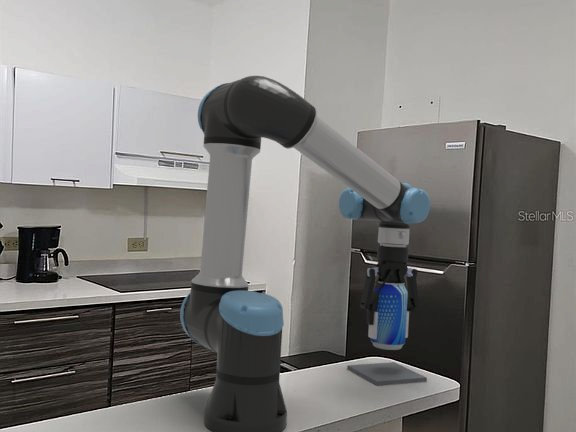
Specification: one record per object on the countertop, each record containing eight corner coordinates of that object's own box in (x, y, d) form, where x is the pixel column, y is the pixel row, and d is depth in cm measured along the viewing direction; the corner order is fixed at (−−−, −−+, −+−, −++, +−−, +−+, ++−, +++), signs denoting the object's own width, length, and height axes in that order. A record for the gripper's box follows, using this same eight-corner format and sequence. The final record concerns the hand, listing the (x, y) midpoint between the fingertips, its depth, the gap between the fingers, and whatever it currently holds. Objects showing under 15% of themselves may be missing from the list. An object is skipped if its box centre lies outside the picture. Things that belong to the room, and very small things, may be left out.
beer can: (363, 346, 144) (367, 280, 144) (380, 340, 151) (383, 278, 150) (395, 352, 139) (398, 285, 139) (410, 347, 146) (414, 282, 145)
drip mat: (376, 385, 136) (377, 381, 136) (347, 369, 148) (347, 365, 148) (426, 381, 141) (426, 377, 141) (393, 366, 154) (394, 362, 154)
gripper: (364, 245, 137) (358, 342, 137) (437, 247, 145) (432, 339, 145) (348, 243, 144) (343, 335, 144) (419, 245, 152) (414, 332, 152)
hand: (388, 337), depth 145 cm, fingers closed on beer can, 8 cm apart
